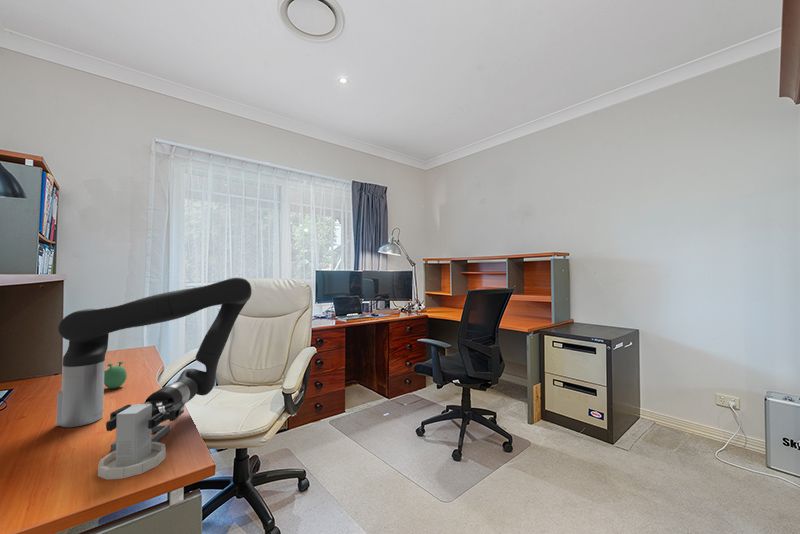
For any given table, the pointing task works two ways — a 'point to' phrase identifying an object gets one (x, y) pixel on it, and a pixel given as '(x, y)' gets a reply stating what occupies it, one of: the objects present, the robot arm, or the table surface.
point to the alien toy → (114, 376)
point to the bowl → (110, 470)
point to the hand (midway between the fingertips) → (129, 425)
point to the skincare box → (133, 435)
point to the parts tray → (161, 432)
